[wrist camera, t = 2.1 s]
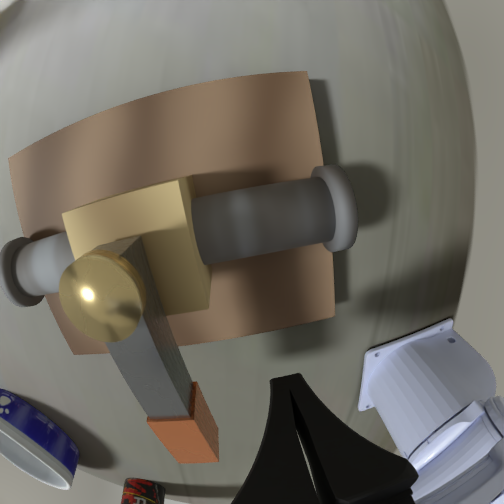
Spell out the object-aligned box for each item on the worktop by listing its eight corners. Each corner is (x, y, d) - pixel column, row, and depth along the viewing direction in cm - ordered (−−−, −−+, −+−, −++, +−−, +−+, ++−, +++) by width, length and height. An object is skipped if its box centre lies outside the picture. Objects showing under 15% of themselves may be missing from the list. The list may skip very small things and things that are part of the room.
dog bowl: (19, 439, 22) (7, 464, 17) (-26, 372, 18) (-46, 399, 12) (95, 469, 24) (87, 500, 19) (54, 407, 20) (35, 448, 14)
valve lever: (88, 238, 9) (46, 268, 6) (150, 223, 9) (121, 250, 6) (178, 431, 13) (173, 473, 10) (222, 427, 13) (224, 471, 10)
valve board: (299, 78, 13) (335, 43, 8) (327, 304, 17) (361, 356, 12) (21, 157, 12) (-35, 164, 7) (81, 343, 17) (51, 391, 12)
